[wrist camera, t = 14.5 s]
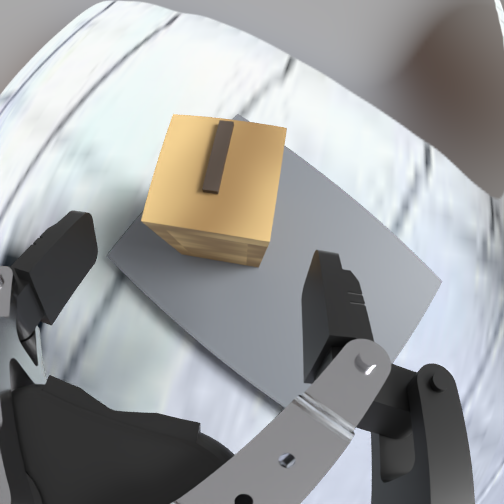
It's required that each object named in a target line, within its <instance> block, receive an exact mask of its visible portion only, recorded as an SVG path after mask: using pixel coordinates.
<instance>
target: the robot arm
mask: <svg viewBox="0 0 504 504" xmlns="http://www.w3.org/2000/svg"><path fill="white" fill-rule="evenodd" d="M97 254H98V248H97V242H96V236H95V231H94V225H93V219H92V216H91V214H90V213H87V212H80V211H70V212H69V213H68V214H67V215H66V216H65V217H63V218H62V219H61V220H60V221H59V222H58V223H57V224H55V225H53V226H51V227H50V228H48V229H47V230H46V231H45V232H44V233H43V234H42V235H41V236H40V238H38V239H37V240H36V241H35V242H34V243H33V245H31V246H30V247H29V248H28V249H27V250H26V251H25V252H24V253H23V254H22V255H21V256H20V257H19V258H18V259H17V260H16V262H15V263H14V264H13V265H12V266H11V267H10V268H9V267H7V266H0V504H300V503H301V502H302V501H303V500H304V499H305V498H306V497H307V496H308V494H309V493H310V492H311V491H312V490H313V489H314V488H315V486H316V485H317V484H318V483H319V482H320V481H321V479H322V478H323V477H324V476H325V475H326V473H327V472H328V471H329V470H330V468H331V467H332V466H333V465H334V463H335V462H336V461H337V460H338V458H339V457H340V456H341V454H342V453H343V452H344V450H345V449H346V448H347V446H348V445H349V443H350V442H351V440H352V439H353V437H354V430H355V428H356V427H357V428H360V429H363V430H366V431H370V432H371V446H372V498H371V504H475V498H474V484H473V474H472V465H471V457H470V450H469V444H468V438H467V432H466V427H465V421H464V417H463V412H462V407H461V403H460V399H459V394H458V390H457V387H456V383H455V380H454V378H453V376H452V375H451V374H450V372H449V371H448V370H446V369H445V368H444V367H442V366H440V365H437V364H426V365H424V366H423V367H422V368H421V369H420V370H419V371H418V372H414V371H411V370H408V369H405V368H402V367H399V366H396V365H394V364H392V363H391V360H390V358H389V355H388V354H387V352H386V351H385V350H384V349H383V348H382V347H381V346H380V345H379V344H377V343H375V342H374V338H373V334H372V330H371V325H370V321H369V317H368V313H367V309H366V306H365V301H364V298H363V296H362V290H361V286H360V283H359V281H358V279H357V278H356V277H355V276H354V274H353V273H352V272H351V270H344V269H342V265H341V261H340V257H339V254H338V253H334V252H328V251H323V250H316V251H315V252H314V255H313V258H312V261H311V264H310V267H309V271H308V274H307V277H306V280H305V283H304V286H303V291H302V299H301V306H302V333H303V375H304V383H309V384H312V385H311V386H310V387H309V388H308V389H307V390H306V391H305V392H304V393H303V394H302V395H298V396H297V397H296V398H295V399H294V400H293V401H292V402H291V403H290V404H289V405H288V406H287V407H286V408H285V409H284V410H283V411H282V412H281V413H280V414H279V415H278V416H277V417H276V418H275V419H274V420H273V421H272V422H271V423H269V424H268V425H267V426H266V427H265V428H264V429H263V430H262V431H261V432H260V433H259V434H258V435H257V436H256V437H255V438H253V439H252V440H251V441H250V442H249V443H248V444H247V445H246V446H245V447H243V448H242V449H241V450H240V451H239V452H238V453H237V454H235V455H234V454H233V453H232V452H231V451H230V450H229V449H228V448H226V447H225V446H224V445H222V444H221V443H219V442H218V441H216V440H215V439H213V438H211V437H209V436H207V435H205V434H203V433H201V432H200V423H198V422H193V421H188V420H184V419H179V418H175V417H171V416H166V415H162V414H159V413H139V412H123V411H114V410H111V409H110V408H108V407H106V406H105V405H103V404H102V403H100V402H99V401H98V400H96V399H95V398H93V397H92V396H90V395H89V394H88V393H86V392H85V391H83V390H82V389H81V388H79V387H76V386H74V385H71V384H69V383H67V382H64V381H62V380H60V379H57V378H55V377H53V376H51V375H50V376H49V377H48V379H46V376H45V373H44V367H43V359H42V350H41V340H40V330H39V328H38V326H37V325H38V323H39V322H40V321H42V322H44V323H47V324H49V325H52V324H53V323H54V321H55V320H56V318H57V316H58V315H59V313H60V312H61V310H62V309H63V307H64V306H65V304H66V303H67V301H68V300H69V299H70V297H71V296H72V294H73V293H74V291H75V290H76V288H77V287H78V286H79V284H80V283H81V281H82V280H83V279H84V277H85V276H86V274H87V273H88V272H89V270H90V269H91V268H92V266H93V265H94V264H95V262H96V259H97Z"/></svg>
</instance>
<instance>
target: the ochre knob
mask: <svg viewBox="0 0 504 504" xmlns="http://www.w3.org/2000/svg"><path fill="white" fill-rule="evenodd" d="M286 130H287V128H284V127H278V126H272V125H266V124H259V123H253V122H246V121H238V120H230V119H222V118H212V117H202V116H190V115H175V114H173V116H172V119H171V122H170V125H169V128H168V131H167V133H166V136H165V139H164V142H163V145H162V149H161V152H160V155H159V158H158V161H157V165H156V168H155V171H154V175H153V178H152V181H151V185H150V188H149V192H148V196H147V199H146V203H145V207H144V211H143V215H142V219H141V221H142V222H143V223H144V224H145V225H146V226H148V227H149V228H150V229H151V230H152V231H154V232H155V233H156V234H157V235H159V236H160V237H161V238H162V239H163V240H165V241H166V242H167V243H168V244H170V245H171V246H172V247H173V248H175V249H176V250H177V251H178V252H180V253H181V254H183V255H189V256H194V257H200V258H206V259H212V260H218V261H223V262H229V263H235V264H241V265H247V266H253V267H259V266H260V264H261V261H262V259H263V257H264V254H265V252H266V250H267V247H268V245H269V243H270V238H271V231H272V225H273V218H274V212H275V205H276V199H277V192H278V185H279V178H280V172H281V165H282V158H283V151H284V144H285V137H286Z"/></svg>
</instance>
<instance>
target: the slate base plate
mask: <svg viewBox="0 0 504 504" xmlns="http://www.w3.org/2000/svg"><path fill="white" fill-rule="evenodd" d="M232 120H238V121H246V122H249V121H248V120H246V119H245V118H243V117H242V116H240V115H239V114H237V115H236V116H235V117H234V118H233V119H232ZM143 211H144V210H143ZM142 215H143V212H142V213H141V214H140V215H139V216H138V217H137V219H136V220H135V221H134V222H133V223H132V225H131V226H130V227H129V228H128V229H127V231H126V232H125V233H124V234H123V235H122V237H121V238H120V239H119V240H118V242H117V243H116V244H115V245H114V247H113V248H112V249H111V250H110V252H109V253H108V254H107V257H108V258H109V259H110V260H111V261H112V262H113V263H114V264H115V265H116V266H117V267H118V268H119V269H120V270H121V271H122V272H123V273H124V274H125V275H126V276H127V277H128V278H129V279H130V280H131V281H132V282H133V283H134V284H135V285H136V286H137V287H138V288H139V289H140V290H141V291H142V292H143V293H144V294H145V295H147V296H148V297H149V298H150V299H151V300H152V301H153V302H154V303H155V304H156V305H157V306H158V307H159V308H160V309H162V310H163V311H164V312H165V313H166V314H167V315H168V316H169V317H170V318H172V319H173V320H174V321H175V322H176V323H177V324H178V325H179V326H181V327H182V328H183V329H184V330H185V331H186V332H187V333H189V334H190V335H191V336H192V337H193V338H194V339H196V340H197V341H198V342H199V343H200V344H202V345H203V346H204V347H205V348H206V349H208V350H209V351H210V352H211V353H212V354H214V355H215V356H216V357H217V358H219V359H220V360H221V361H222V362H224V363H225V364H226V365H227V366H229V367H230V368H231V369H233V370H234V371H235V372H236V373H238V374H239V375H240V376H242V377H243V378H244V379H246V380H247V381H248V382H250V383H251V384H252V385H254V386H255V387H256V388H258V389H259V390H260V391H262V392H263V393H264V394H266V395H267V396H269V397H270V398H271V399H273V400H274V401H276V402H277V403H279V404H280V405H281V406H283V407H284V408H286V407H287V406H288V405H289V404H290V403H291V402H292V401H293V400H294V399H295V398H296V397H297V396H298V395H302V394H303V393H304V392H305V391H306V390H307V389H308V388H309V387H310V386H311V385H312V384H309V383H304V375H303V333H302V306H301V299H302V291H303V286H304V283H305V280H306V277H307V274H308V271H309V267H310V264H311V261H312V258H313V255H314V252H315V251H316V250H323V251H328V252H334V253H338V254H339V257H340V261H341V265H342V269H344V270H351V272H352V273H353V274H354V276H355V277H356V278H357V279H358V281H359V283H360V286H361V290H362V296H363V298H364V301H365V306H366V309H367V313H368V317H369V321H370V325H371V330H372V334H373V338H374V342H375V343H377V344H379V345H380V346H381V347H382V348H383V349H384V350H385V351H386V352H387V354H388V355H389V358H390V360H391V363H393V362H394V361H395V359H396V358H397V356H398V355H399V353H400V352H401V350H402V349H403V347H404V346H405V344H406V343H407V341H408V340H409V338H410V337H411V335H412V333H413V332H414V330H415V329H416V327H417V325H418V324H419V322H420V320H421V319H422V317H423V315H424V314H425V312H426V310H427V309H428V307H429V305H430V303H431V301H432V300H433V298H434V296H435V294H436V292H437V291H438V289H439V287H440V285H441V283H442V281H441V280H440V278H439V277H438V276H437V275H436V274H435V273H434V272H433V271H432V270H431V269H430V268H429V267H428V266H427V265H426V264H425V263H424V262H423V261H422V260H421V259H420V258H419V257H418V256H417V255H416V254H415V253H414V252H412V251H411V250H410V249H409V248H408V247H407V246H406V245H405V244H404V243H403V242H402V241H401V240H400V239H399V238H398V237H397V236H395V235H394V234H393V233H392V232H391V231H390V230H389V229H388V228H387V227H386V226H384V225H383V224H382V223H381V222H380V221H379V220H378V219H377V218H375V217H374V216H373V215H372V214H371V213H370V212H369V211H367V210H366V209H365V208H364V207H363V206H362V205H360V204H359V203H358V202H357V201H356V200H354V199H353V198H352V197H351V196H350V195H348V194H347V193H346V192H345V191H343V190H342V189H341V188H340V187H339V186H337V185H336V184H335V183H334V182H332V181H331V180H330V179H328V178H327V177H326V176H325V175H323V174H322V173H321V172H319V171H318V170H317V169H316V168H314V167H313V166H312V165H310V164H309V163H308V162H306V161H305V160H304V159H302V158H301V157H300V156H298V155H297V154H296V153H294V152H293V151H291V150H290V149H289V148H287V147H286V146H284V151H283V158H282V165H281V172H280V178H279V185H278V192H277V199H276V205H275V212H274V218H273V225H272V231H271V238H270V243H269V245H268V247H267V250H266V252H265V254H264V257H263V259H262V261H261V264H260V266H259V267H253V266H247V265H241V264H235V263H229V262H223V261H218V260H212V259H206V258H200V257H194V256H189V255H183V254H181V253H180V252H178V251H177V250H176V249H175V248H173V247H172V246H171V245H170V244H168V243H167V242H166V241H165V240H163V239H162V238H161V237H160V236H159V235H157V234H156V233H155V232H154V231H152V230H151V229H150V228H149V227H148V226H146V225H145V224H144V223H143V222H142V221H141V219H142Z"/></svg>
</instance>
